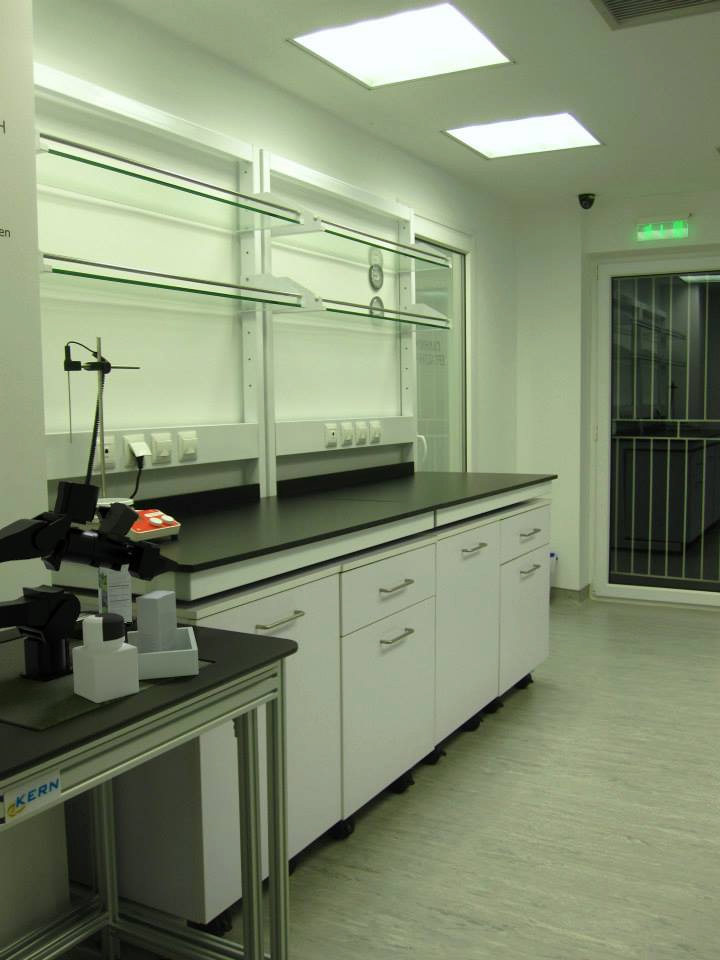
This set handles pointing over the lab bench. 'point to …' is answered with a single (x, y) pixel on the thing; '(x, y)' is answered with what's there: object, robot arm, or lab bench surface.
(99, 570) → the syrup box
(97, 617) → the medicine bottle
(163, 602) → the skincare box
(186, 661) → the open box
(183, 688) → the lab bench surface
